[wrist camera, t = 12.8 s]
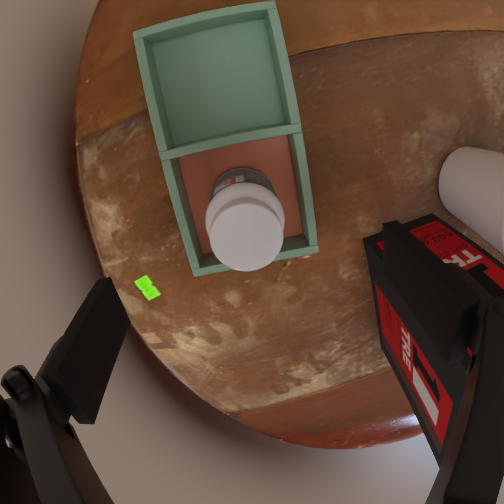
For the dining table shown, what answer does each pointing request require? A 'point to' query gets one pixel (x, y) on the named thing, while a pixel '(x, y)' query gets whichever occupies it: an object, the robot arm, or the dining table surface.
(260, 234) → the pill bottle
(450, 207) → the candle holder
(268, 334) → the dining table surface
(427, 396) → the cleaning product box
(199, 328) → the dining table surface
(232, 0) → the dining table surface
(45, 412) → the robot arm
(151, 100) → the divided tray
